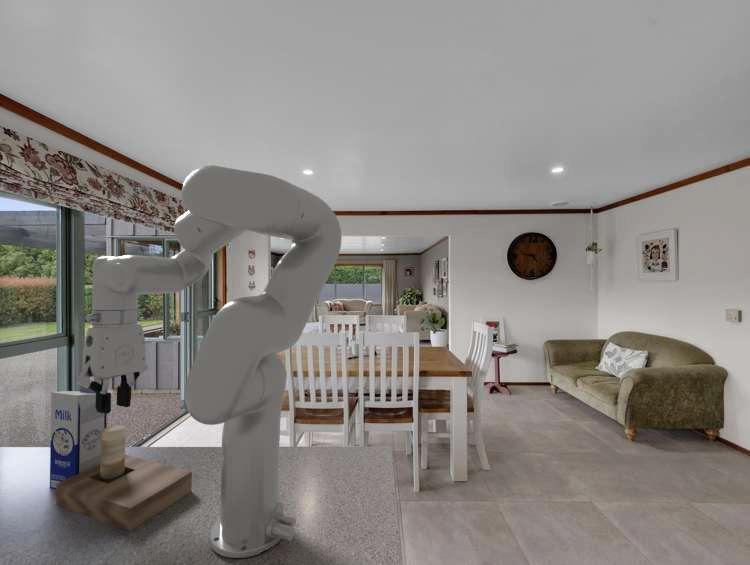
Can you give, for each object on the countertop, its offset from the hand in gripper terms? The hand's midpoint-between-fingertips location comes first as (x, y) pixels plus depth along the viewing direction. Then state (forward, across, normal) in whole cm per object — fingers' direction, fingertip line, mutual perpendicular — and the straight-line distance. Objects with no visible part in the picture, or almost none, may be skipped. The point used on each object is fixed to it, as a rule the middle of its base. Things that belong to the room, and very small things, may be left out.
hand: (113, 408), depth 74 cm
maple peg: (+16, 0, 0) cm, 16 cm away
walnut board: (+17, 0, -4) cm, 18 cm away
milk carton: (+17, 0, +10) cm, 20 cm away
